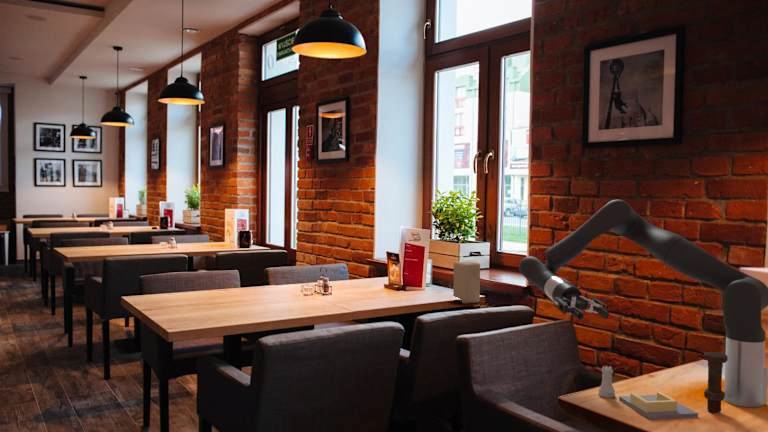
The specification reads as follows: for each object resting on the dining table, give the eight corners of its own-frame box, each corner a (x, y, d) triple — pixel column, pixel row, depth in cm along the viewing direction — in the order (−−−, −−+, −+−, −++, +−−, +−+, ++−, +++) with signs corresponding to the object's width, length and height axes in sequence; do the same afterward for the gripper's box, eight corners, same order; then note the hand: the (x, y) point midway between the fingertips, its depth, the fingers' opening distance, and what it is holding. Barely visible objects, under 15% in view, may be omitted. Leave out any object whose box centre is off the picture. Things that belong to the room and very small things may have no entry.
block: (480, 302, 326) (481, 263, 325) (464, 304, 321) (465, 264, 320) (468, 299, 335) (468, 261, 334) (452, 301, 330) (453, 262, 329)
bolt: (730, 414, 164) (732, 355, 164) (716, 416, 163) (717, 357, 162) (711, 407, 170) (713, 350, 169) (697, 409, 168) (698, 352, 167)
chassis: (663, 398, 177) (663, 385, 177) (698, 417, 162) (698, 403, 162) (619, 400, 175) (619, 387, 175) (649, 419, 160) (650, 405, 160)
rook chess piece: (594, 394, 180) (595, 365, 180) (607, 392, 182) (608, 364, 181) (605, 399, 176) (606, 369, 176) (618, 397, 178) (619, 368, 177)
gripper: (544, 280, 192) (576, 304, 178) (584, 280, 197) (619, 304, 182) (539, 304, 194) (570, 329, 180) (579, 303, 199) (612, 328, 185)
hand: (595, 316), depth 181 cm, fingers open, 8 cm apart
